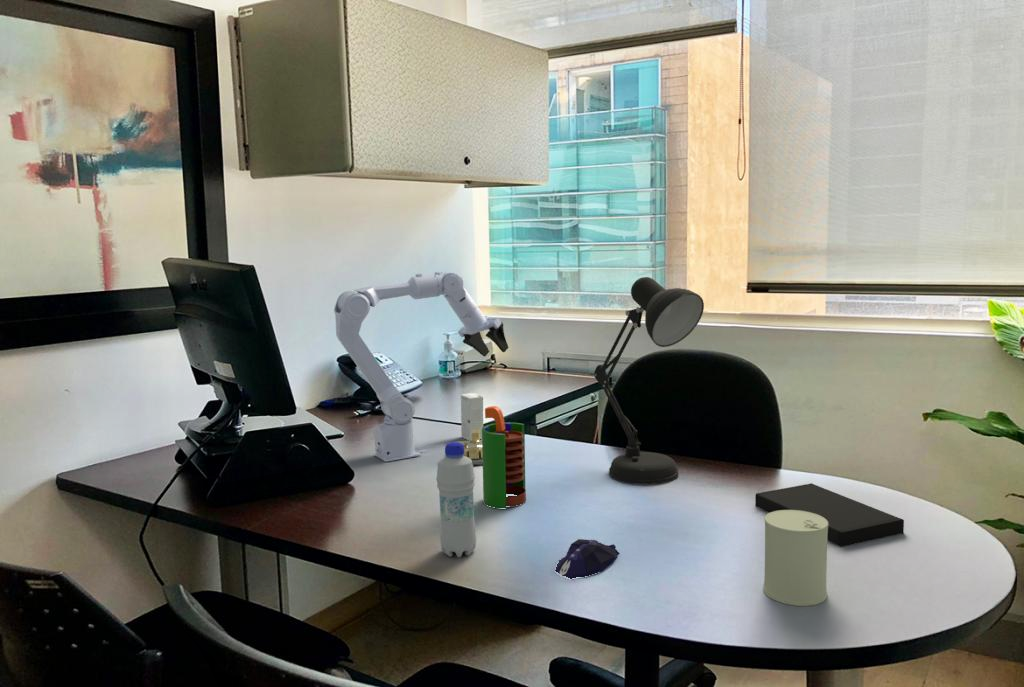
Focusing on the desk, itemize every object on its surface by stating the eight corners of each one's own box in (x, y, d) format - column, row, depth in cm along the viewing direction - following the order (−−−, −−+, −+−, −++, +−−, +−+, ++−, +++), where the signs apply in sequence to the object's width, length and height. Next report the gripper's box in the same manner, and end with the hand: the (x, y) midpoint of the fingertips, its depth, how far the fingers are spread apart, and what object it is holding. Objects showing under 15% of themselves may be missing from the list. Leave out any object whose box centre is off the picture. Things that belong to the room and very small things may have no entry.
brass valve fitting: (465, 461, 192) (464, 444, 192) (443, 450, 203) (442, 433, 203) (505, 453, 198) (504, 437, 197) (481, 443, 209) (481, 427, 208)
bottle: (458, 542, 146) (453, 435, 144) (485, 550, 142) (481, 440, 139) (431, 554, 141) (426, 444, 139) (459, 563, 137) (454, 449, 134)
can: (803, 612, 116) (804, 533, 114) (750, 590, 123) (751, 515, 122) (839, 594, 121) (841, 518, 120) (787, 574, 129) (788, 502, 127)
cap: (463, 469, 191) (463, 455, 191) (440, 456, 203) (440, 443, 202) (510, 460, 198) (510, 446, 197) (486, 448, 209) (485, 435, 208)
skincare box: (460, 437, 221) (458, 394, 220) (475, 434, 224) (473, 392, 222) (470, 442, 216) (468, 397, 214) (485, 439, 218) (483, 395, 216)
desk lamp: (703, 494, 168) (703, 279, 161) (580, 489, 174) (576, 281, 167) (704, 461, 191) (704, 272, 185) (596, 457, 197) (592, 274, 191)
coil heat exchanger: (521, 510, 162) (518, 413, 159) (478, 508, 164) (474, 413, 161) (530, 493, 172) (527, 402, 169) (489, 492, 174) (486, 402, 171)
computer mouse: (534, 571, 134) (534, 548, 133) (591, 544, 144) (590, 523, 144) (577, 586, 127) (577, 563, 127) (633, 557, 138) (632, 535, 137)
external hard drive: (841, 549, 139) (841, 532, 138) (755, 507, 160) (755, 493, 160) (903, 535, 144) (904, 519, 143) (811, 497, 165) (812, 483, 165)
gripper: (494, 297, 206) (522, 338, 210) (458, 308, 216) (485, 347, 221) (480, 313, 201) (509, 355, 206) (444, 323, 212) (472, 363, 216)
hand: (496, 352), depth 213 cm, fingers open, 7 cm apart
